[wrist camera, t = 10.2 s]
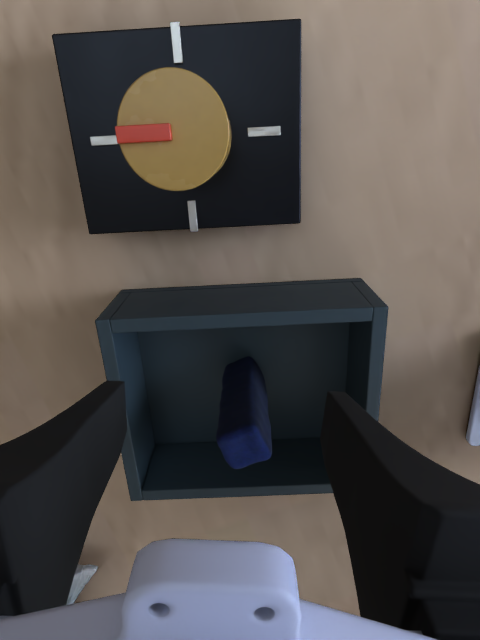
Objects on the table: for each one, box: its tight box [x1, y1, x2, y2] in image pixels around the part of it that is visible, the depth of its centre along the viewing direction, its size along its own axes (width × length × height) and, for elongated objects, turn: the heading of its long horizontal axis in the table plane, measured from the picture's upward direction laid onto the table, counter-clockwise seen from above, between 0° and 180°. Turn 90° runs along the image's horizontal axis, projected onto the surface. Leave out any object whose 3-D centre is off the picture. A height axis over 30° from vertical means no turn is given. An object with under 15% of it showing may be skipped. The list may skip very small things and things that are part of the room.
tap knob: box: [115, 67, 232, 191], centre depth 16 cm, size 4×4×4 cm
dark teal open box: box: [95, 278, 388, 501], centre depth 23 cm, size 13×11×5 cm
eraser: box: [216, 356, 272, 469], centre depth 21 cm, size 2×2×7 cm
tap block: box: [52, 19, 301, 234], centre depth 19 cm, size 10×8×3 cm
